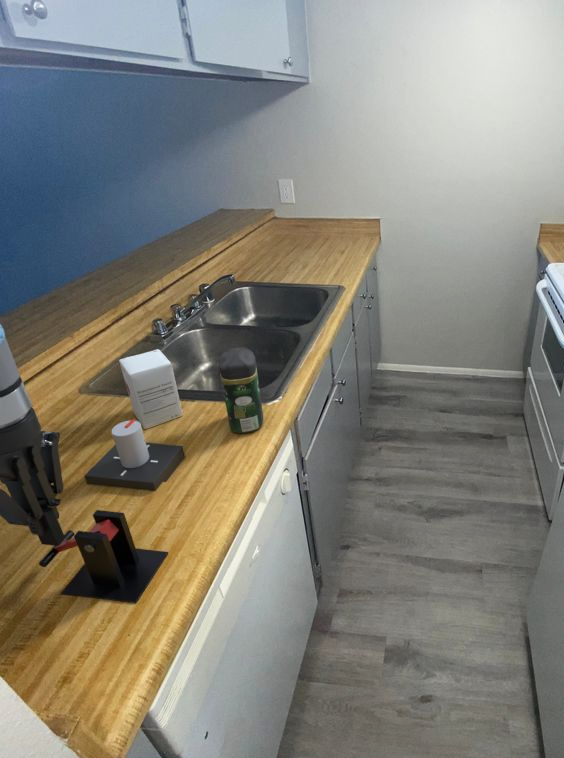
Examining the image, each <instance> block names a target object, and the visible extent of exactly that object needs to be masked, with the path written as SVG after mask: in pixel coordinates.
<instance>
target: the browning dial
mask: <svg viewBox="0 0 564 758" xmlns="http://www.w3.org/2000/svg"><path fill="white" fill-rule="evenodd" d="M111 435H112V438H113V441H114V446H115V445H116V448H117V451H118V454H119V458H120V461H121V464H122V466H123V467H125V468H136V467H139V466H141V465H143V464H144V463H146V462H147V461H148V459H149V453H148V449H147V446H146V443H147V442H146V438H145V435H144V431H143V426H142V425H141V423H140V422H139V420H136V419H134V418H133V419H130V420H125V421H121V422H119V423H117V424H116V425H115V426H113V428H112V429H111Z"/></svg>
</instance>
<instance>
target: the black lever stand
mask: <svg viewBox="0 0 564 758" xmlns="http://www.w3.org/2000/svg"><path fill="white" fill-rule="evenodd" d="M92 517H93V520H94V523H95V524H97V523H100V522H103V521H105V520H108V519H109V520H110V521H111V522H112V523H113V524H114V525H115V526H116V527H117V528H118V529H119V531H118V532H117V533H116V534H115V536H114V537H113V538H112V539H111V541H109V539H108V536H107V534H103V533H94V532H89V531H84V530H78V531H77V532H76V533H75V535H74V536H73V538H75V540H76V543H77V545H78V546H77V547H78V550H79V553H80V556H81V557H82V560H83V562H84V564H83V565H82V566H81V568H79V570H78V571H77V573H76V574H75V575H74V576H73V577H72V579H70V582H68V583H67V585H66V586H65V587H64V588H63V590H62V591H61V592H60V595H63V596H71V597H78V598H87V599H94V600H104V601H111V602H121V603H130V604H137V603H138V602H139V600H140V599H141V598H142V596H143V594H144V593H145V591H146V590H147V588H148V586H149V585H150V584H151V582H152V580H153V579H154V577H155V575H156V574H157V572H158V571H159V569H160V567H161V566H162V564H163V563H164V562H165V560H166V559H167V557H168V555H169V551H163V550H154V549H145V548H136V545H135V542H134V539H133V536H132V533H131V530H130V528H129V524H128V520H127V518H126V515H125V512H121V511H120V512H119V511H108V510H100V509H96V511H94V512H93V513H92Z"/></svg>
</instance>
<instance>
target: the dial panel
mask: <svg viewBox="0 0 564 758" xmlns="http://www.w3.org/2000/svg"><path fill="white" fill-rule="evenodd" d="M146 446H147V449H148V453H149V459H148V461H147V462H146V463H144V464H143V465H141V466H139V467H136V468H125V467H123V466H122V464H121V461H120V458H119V454H118V451H117V448H116V445H115V444H114V445H113V446H112V447H111V448H110V449H109V450H108V451H107V452H106V453H105V454H104V455H103V456H102V457H101V458H100V459H99V460H98V461H96V463H95V464H94V465H93V466H92V467H91V468H90V469H89V470H88V471H87V472H86V473H85V474H84V480H85V483H86V484H87V485H91V486H104V487H113V488H123V489H131V490H132V489H134V490H142V491H151V492H153V491H154V492H156V491H157V490H158V489H159V487H160V486H161V485H162V483H167V481H168V480H169V479H170V478H171V476H172V475H173V473H174V472H175V471H177V470H176V469H178V467H179V466H180V465H181V463H182V462H183V461H184V459H186V454H185V449H184V446H183V445H178V444H177V445H176V444H167V443H156V442H146Z"/></svg>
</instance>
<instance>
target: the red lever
mask: <svg viewBox="0 0 564 758" xmlns="http://www.w3.org/2000/svg"><path fill="white" fill-rule="evenodd" d="M118 531H119V529H118V528H117V527H116V526H115V525H114V524H113V523H112V522H111V521H110V520H109V519H108V520H105V521H103V522H100V523H97V524H96V523H95V524H94V525H93V526H92V527H91V529H90V530H89V531H88V532H94V533H103V534H107V536H108V539H109V541H111V539H112V538H113V537H114V536H115V534H116V533H117V532H118ZM75 534H76V533H75V532H74V531H73V530H67V531H66V532H65V534H64V536H65V539H64V540H63V542H62V543H61V544H60V545H59V546H52V548H51V549H50V550H49V551H48V552H46V554H45V555H44V557H43V558H42V559H40V561H39V562H38V565H39V566H40V567H41V568H47V567H48V565H50V563H51V562H52V561H53V560H54V559H55V558H56V557H57V556H58V554H59V553H62V552H65V551H67V550H70V549H73V548H76V547H78V545H77V543H76V540H75V538H74V535H75Z"/></svg>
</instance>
